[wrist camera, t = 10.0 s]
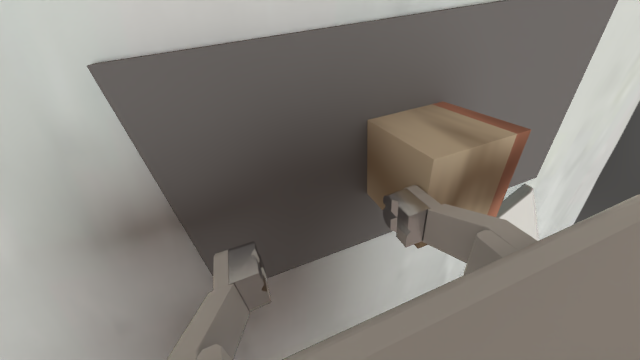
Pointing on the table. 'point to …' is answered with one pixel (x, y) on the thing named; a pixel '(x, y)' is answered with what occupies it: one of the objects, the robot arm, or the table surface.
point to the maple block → (444, 156)
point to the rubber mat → (336, 114)
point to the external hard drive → (521, 210)
